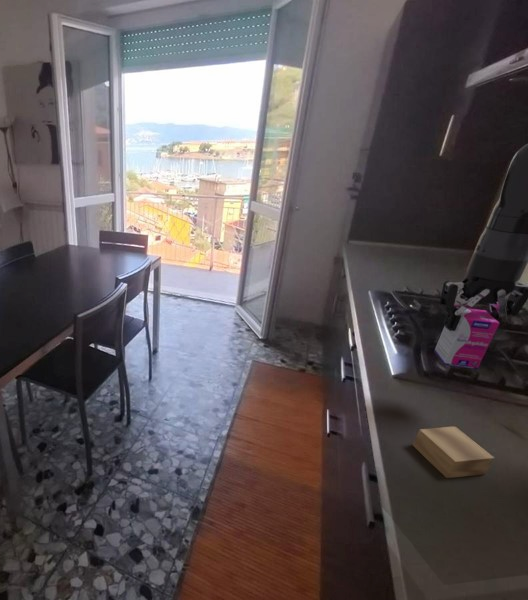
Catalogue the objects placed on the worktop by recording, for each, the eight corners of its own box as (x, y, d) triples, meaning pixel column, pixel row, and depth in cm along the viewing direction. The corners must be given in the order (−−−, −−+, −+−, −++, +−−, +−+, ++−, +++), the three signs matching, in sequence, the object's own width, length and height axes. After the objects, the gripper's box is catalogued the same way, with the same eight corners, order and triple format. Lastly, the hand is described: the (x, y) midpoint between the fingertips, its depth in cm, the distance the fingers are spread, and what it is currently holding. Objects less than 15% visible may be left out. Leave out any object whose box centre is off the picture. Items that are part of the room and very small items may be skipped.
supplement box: (444, 365, 75) (463, 318, 71) (433, 351, 80) (450, 305, 76) (478, 370, 74) (500, 322, 69) (465, 355, 79) (485, 309, 74)
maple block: (447, 441, 75) (455, 426, 73) (484, 474, 68) (494, 457, 66) (412, 445, 75) (419, 429, 73) (446, 478, 68) (455, 461, 66)
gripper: (471, 258, 65) (439, 337, 72) (565, 260, 62) (523, 342, 69) (445, 246, 71) (419, 319, 78) (530, 248, 69) (495, 323, 76)
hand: (468, 330), depth 74 cm, fingers closed on supplement box, 6 cm apart
